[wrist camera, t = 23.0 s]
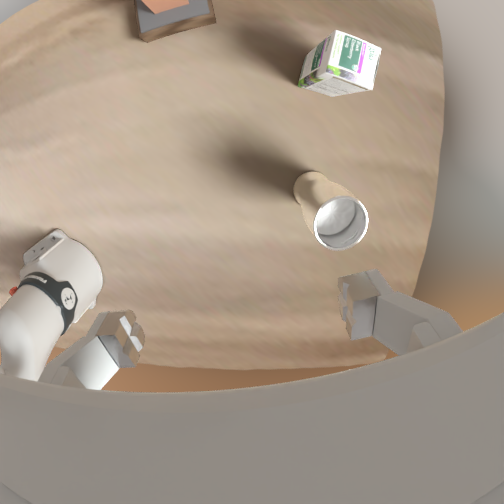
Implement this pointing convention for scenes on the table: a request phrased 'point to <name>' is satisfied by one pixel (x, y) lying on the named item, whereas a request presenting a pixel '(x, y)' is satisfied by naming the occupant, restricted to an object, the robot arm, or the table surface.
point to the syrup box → (340, 65)
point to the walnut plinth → (172, 19)
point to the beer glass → (330, 211)
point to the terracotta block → (163, 4)
